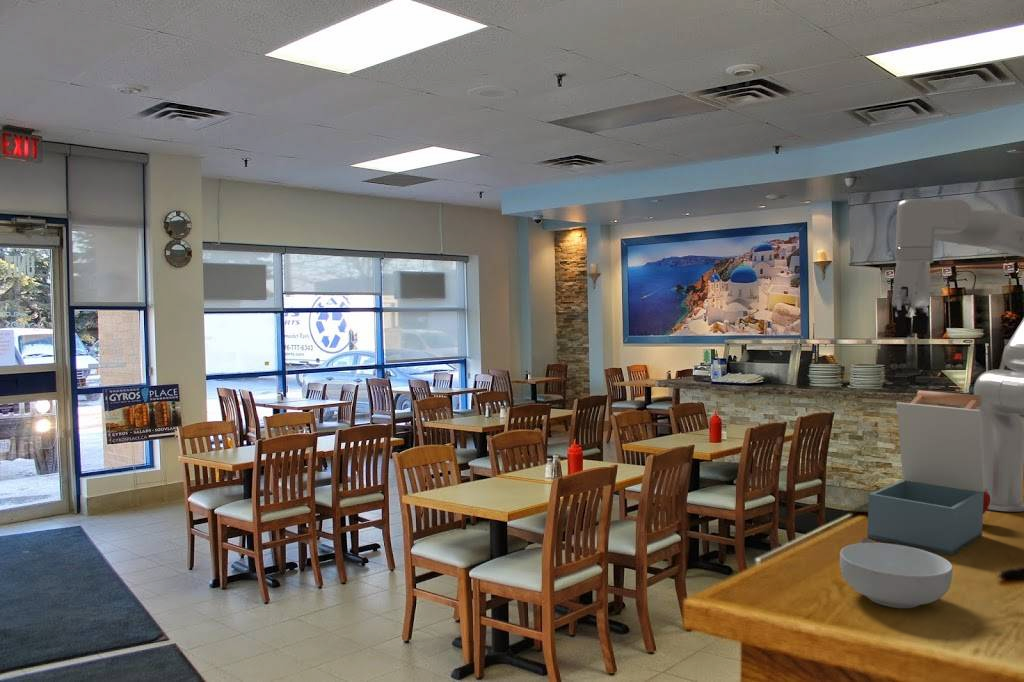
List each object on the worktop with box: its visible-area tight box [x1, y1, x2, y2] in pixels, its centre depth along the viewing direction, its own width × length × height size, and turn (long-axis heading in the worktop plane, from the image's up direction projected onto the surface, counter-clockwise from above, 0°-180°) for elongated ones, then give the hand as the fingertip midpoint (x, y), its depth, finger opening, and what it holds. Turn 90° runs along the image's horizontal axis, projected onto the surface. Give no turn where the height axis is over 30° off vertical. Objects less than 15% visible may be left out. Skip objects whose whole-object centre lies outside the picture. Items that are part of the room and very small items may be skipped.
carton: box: [867, 479, 984, 556], centre depth 175 cm, size 18×16×9 cm
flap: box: [895, 389, 985, 492], centre depth 181 cm, size 18×16×8 cm
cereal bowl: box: [839, 542, 954, 609], centre depth 140 cm, size 17×17×7 cm
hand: (911, 334), depth 188 cm, fingers open, 9 cm apart
